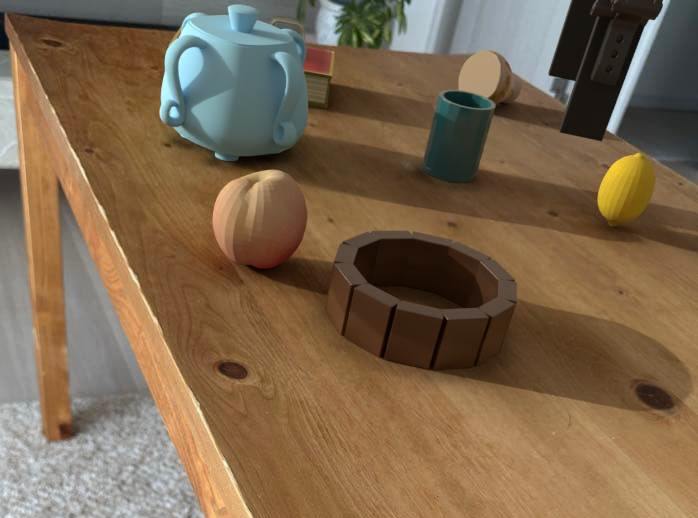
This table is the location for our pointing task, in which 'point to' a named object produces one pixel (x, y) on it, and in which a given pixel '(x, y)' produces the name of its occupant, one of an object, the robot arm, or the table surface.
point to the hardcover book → (311, 73)
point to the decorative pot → (236, 84)
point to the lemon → (626, 189)
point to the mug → (490, 77)
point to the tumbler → (458, 135)
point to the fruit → (260, 219)
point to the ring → (414, 319)
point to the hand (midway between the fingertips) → (572, 105)
